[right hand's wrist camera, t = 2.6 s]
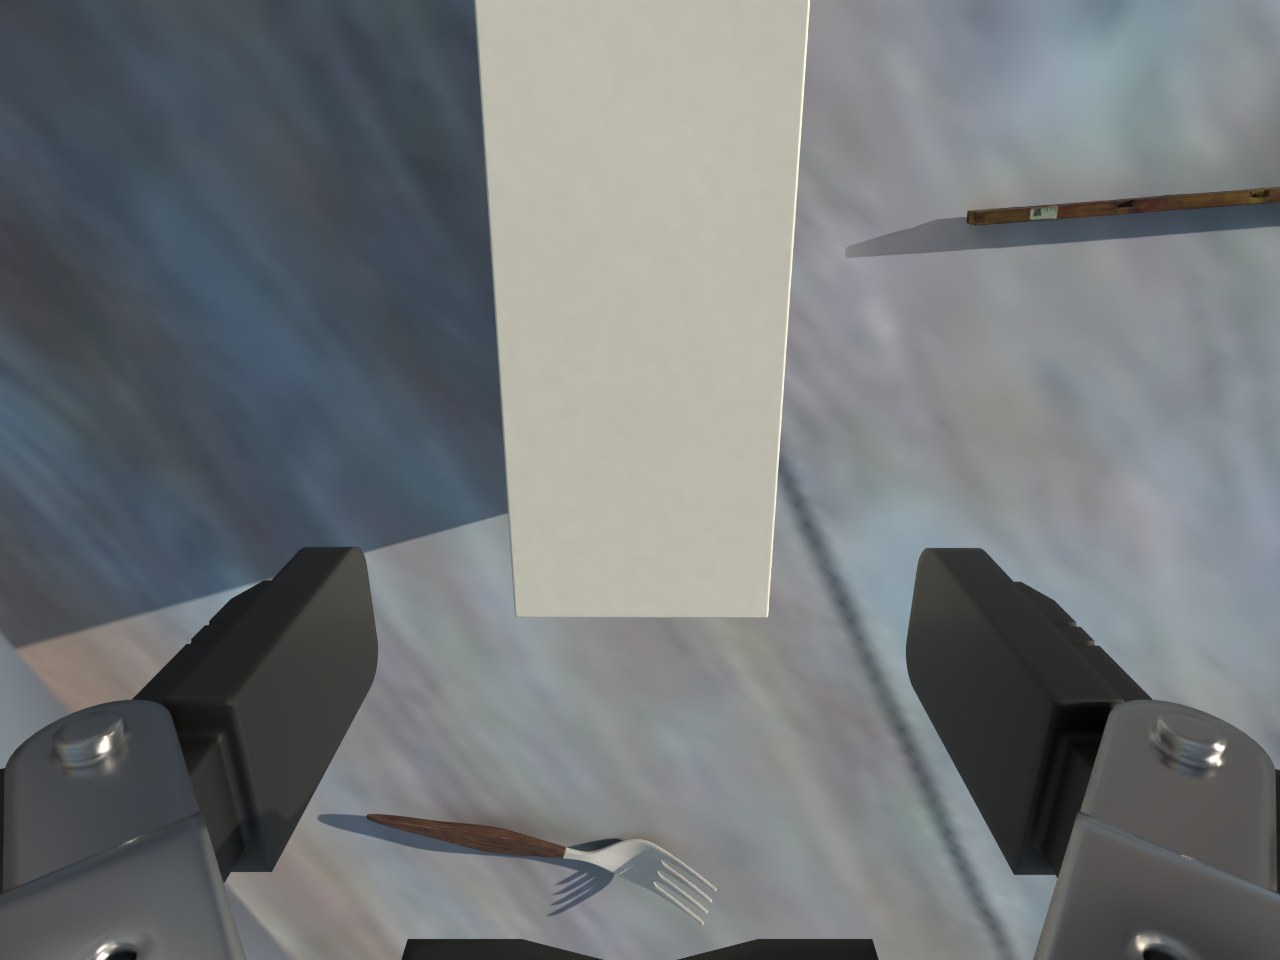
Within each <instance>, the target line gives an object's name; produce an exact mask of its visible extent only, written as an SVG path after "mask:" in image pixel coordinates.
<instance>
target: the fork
mask: <svg viewBox="0 0 1280 960" xmlns="http://www.w3.org/2000/svg"><path fill="white" fill-rule="evenodd" d="M367 819H368V820H371V821H373V822H376V823H379V824H382V825H386V826H389V827H393V828H396V829H400V830H404V831H408V832H412V833H416V834H420V835H424V836H428V837H432V838H436V839H440V840H443V841H447V842H451V843H454V844H458V845H462V846H466V847H470V848H474V849H478V850H483V851H488V852H495V853H503V854H514V855H526V856H540V857H553V858H565V859H575V860H581V861H586V862H590V863H593V864H595V865H598V866H600V867H602V868H604V869H606V870H608V871H610V872H612V873H614V874H616V875H618V876H621V877H623V878H625V879H627V880H629V881H631V882H634V883H636V884H638V885H640V886H643V887H645V888H647V889H649V890H651V891H653V892H654V893H656V894H658V895H660V896H661V897H663V898H664V899H666V900H668V901H669V902H671V903H672V904H674V905H675V906H676V907H678V908H679V909H681V910H682V911H684V912H685V913H687V914H688V915H689V916H691V917H692V918H694V919H695V920H696V921H697V922H699V923H700V924H701V925H703V924H704V922H703V921H702V920H701V919H700V918H699V917H698V916H696V915H695V914H694V913H693V912H691V911H690V910H689V909H688V908H686V907H685V906H684V905H682V904H681V903H680V902H679V901H677V900H676V899H675V898H673V897H672V896H671V895H669V894H668V893H667V892H665V891H664V890H662V889H661V888H660V887H658V886H657V885H656V884H655V883H654V881H657V882H659V883H661V884H663V885H665V886H666V887H668V888H670V889H671V890H673V891H674V892H676V893H677V894H679V895H680V896H682V897H683V898H685V899H686V900H688V901H689V902H691V903H692V904H693V905H695V906H696V907H698V908H699V909H700V910H702V911H703V912H704V913H706V914H707V913H708V911H707V910H706V909H705V908H704V907H703V906H702V905H700V904H699V903H698V902H697V901H695V900H694V899H693V898H692V897H690V896H689V895H688V894H686V893H685V892H684V891H682V890H681V889H680V888H678V887H677V886H676V885H674V884H673V883H672V882H670V881H669V880H668V879H666V878H665V877H663V876H662V875H661V874H660V873H659V872H658V871H657V870H661V871H663V872H665V873H667V874H669V875H670V876H672V877H674V878H675V879H677V880H678V881H680V882H681V883H683V884H684V885H686V886H687V887H689V888H690V889H692V890H693V891H695V892H696V893H698V894H699V895H701V896H702V897H703V898H705V899H706V900H707V901H709V902H712V899H711V898H710V897H708V896H707V895H706V894H705V893H703V892H702V891H701V890H700V889H698V888H697V887H696V886H694V885H693V884H692V883H691V882H689V881H688V880H687V879H685V878H684V877H683V876H681V875H680V874H679V873H677V872H676V871H674V870H673V869H672V868H670V867H669V866H667V865H666V864H665V863H664V862H663V861H662V860H661V859H662V858H663V859H666V860H668V861H670V862H671V863H673V864H675V865H676V866H678V867H680V868H681V869H683V870H684V871H686V872H687V873H689V874H690V875H692V876H693V877H695V878H696V879H698V880H699V881H701V882H702V883H704V884H705V885H707V886H708V887H709V888H711V889H712V890H713V891H716V890H717V889H716V887H714V886H713V885H712V884H711V883H709V882H708V881H707V880H705V879H704V878H703V877H702V876H700V875H699V874H698V873H696V872H695V871H694V870H692V869H691V868H690V867H688V866H687V865H686V864H684V863H683V862H681V861H680V860H679V859H677V858H676V857H674V856H673V855H671V854H670V853H668V852H667V851H665V850H664V849H662V848H660V847H659V846H657V845H655V844H654V843H651V842H649V841H647V840H643V839H627V840H623V841H620V842H617V843H614V844H612V845H609V846H607V847H604V848H601V849H598V850H595V851H578V850H574V849H570V848H567V847H563V846H560V845H557V844H553V843H550V842H547V841H544V840H540V839H537V838H534V837H530V836H527V835H524V834H520V833H517V832H513V831H509V830H505V829H501V828H496V827H491V826H484V825H475V824H464V823H453V822H442V821H433V820H425V819H418V818H411V817H403V816H394V815H381V814H368V815H367Z"/></svg>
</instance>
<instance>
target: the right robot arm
mask: <svg viewBox="0 0 1280 960" xmlns="http://www.w3.org/2000/svg"><path fill="white" fill-rule="evenodd" d="M377 660H378V641H377V634H376V627H375V620H374V613H373V606H372V599H371V592H370V585H369V578H368V571H367V564H366V560H365V556H364V554H363V552H362V550H361V549H360V548H358V547H304V548H302V549H301V550H299V551H298V553H297V554H296V555H295V556H294V557H293V558H292V559H291V560H290V561H289V562H288V563H287V564H286V565H285V567H284V568H283V569H282V570H281V571H280V572H279V573H278V574H277V575H276V576H275V577H274V578H273V579H272V581H262V582H260V583H259V584H257V585H255V586H253V587H252V588H250V589H248V590H246V591H244V592H243V593H241V594H239V595H237V596H236V597H234V598H232V599H230V600H229V601H228V603H227V604H226V605H225V606H224V607H223V608H222V609H221V610H220V611H219V612H218V613H217V614H216V615H215V616H214V617H213V618H212V619H211V620H210V621H209V625H205V626H204V627H203V628H202V629H201V630H200V631H199V632H198V633H197V634H196V635H195V636H194V637H193V638H192V639H191V644H186V645H185V646H184V647H183V648H182V649H181V650H180V651H179V652H178V653H177V654H176V655H175V656H174V657H173V658H172V659H171V660H170V661H169V662H168V664H167V665H166V666H165V667H164V668H163V669H162V670H161V671H160V672H159V673H158V674H157V675H156V676H155V677H154V678H153V679H152V680H151V681H150V682H149V683H148V684H147V685H146V686H145V687H144V688H143V689H142V690H141V691H140V692H139V693H138V694H137V695H136V696H135V697H134V698H133V699H132V700H121V701H113V702H108V703H103V704H99V705H96V706H92V707H88V708H85V709H83V710H80V711H77V712H74V713H72V714H70V715H67V716H65V717H63V718H61V719H59V720H57V721H55V722H53V723H51V724H49V725H47V726H46V727H44V728H42V729H41V730H39V731H38V732H36V733H35V734H33V735H32V736H31V737H30V738H28V739H27V740H26V741H25V742H23V743H22V744H21V745H20V746H19V747H18V748H17V749H16V750H15V752H14V753H13V754H12V756H11V757H10V758H9V760H8V762H7V764H6V768H4V769H0V960H247V959H246V956H245V953H244V949H243V946H242V943H241V939H240V936H239V933H238V929H237V926H236V923H235V919H234V916H233V913H232V909H231V906H230V903H229V900H228V896H227V893H226V890H225V886H224V883H225V881H226V879H227V877H228V876H229V874H230V872H272V871H273V869H274V867H275V865H276V863H277V861H278V859H279V858H280V856H281V854H282V852H283V850H284V848H285V846H286V844H287V843H288V841H289V839H290V837H291V835H292V833H293V831H294V830H295V828H296V826H297V824H298V822H299V820H300V818H301V816H302V815H303V813H304V811H305V809H306V807H307V805H308V803H309V801H310V800H311V798H312V796H313V794H314V792H315V790H316V788H317V786H318V785H319V783H320V781H321V779H322V777H323V775H324V773H325V772H326V770H327V768H328V766H329V764H330V762H331V760H332V758H333V757H334V755H335V753H336V751H337V749H338V747H339V745H340V743H341V742H342V740H343V738H344V736H345V734H346V732H347V730H348V729H349V727H350V725H351V723H352V721H353V719H354V717H355V715H356V714H357V712H358V710H359V708H360V706H361V704H362V702H363V700H364V699H365V697H366V695H367V693H368V691H369V689H370V687H371V685H372V683H373V680H374V677H375V673H376V668H377ZM906 661H907V669H908V674H909V678H910V681H911V684H912V686H913V689H914V690H915V692H916V694H917V696H918V698H919V700H920V702H921V703H922V705H923V707H924V709H925V711H926V713H927V714H928V716H929V718H930V720H931V722H932V724H933V726H934V727H935V729H936V731H937V733H938V735H939V737H940V739H941V740H942V742H943V744H944V746H945V748H946V750H947V751H948V753H949V755H950V757H951V759H952V761H953V763H954V764H955V766H956V768H957V770H958V772H959V774H960V775H961V777H962V779H963V781H964V783H965V785H966V787H967V788H968V790H969V792H970V794H971V796H972V798H973V800H974V801H975V803H976V805H977V807H978V809H979V811H980V812H981V814H982V816H983V818H984V820H985V822H986V824H987V825H988V827H989V829H990V831H991V833H992V835H993V836H994V838H995V840H996V842H997V844H998V846H999V848H1000V849H1001V851H1002V853H1003V855H1004V857H1005V859H1006V860H1007V862H1008V864H1009V866H1010V868H1011V870H1012V872H1013V873H1014V875H1056V876H1057V878H1058V880H1057V883H1056V886H1055V890H1054V893H1053V896H1052V900H1051V903H1050V906H1049V909H1048V913H1047V916H1046V919H1045V923H1044V926H1043V929H1042V933H1041V936H1040V939H1039V943H1038V946H1037V949H1036V953H1035V956H1034V959H1033V960H1280V770H1277V769H1275V768H1274V764H1273V762H1272V760H1271V758H1270V757H1269V756H1268V754H1267V753H1266V752H1265V750H1264V749H1263V748H1262V747H1261V746H1260V745H1259V744H1258V743H1257V742H1256V741H1254V740H1253V739H1252V738H1250V737H1249V736H1248V735H1247V734H1245V733H1244V732H1242V731H1241V730H1239V729H1238V728H1236V727H1234V726H1233V725H1231V724H1229V723H1227V722H1225V721H1223V720H1221V719H1220V718H1217V717H1215V716H1213V715H1210V714H1208V713H1206V712H1203V711H1200V710H1197V709H1195V708H1192V707H1188V706H1184V705H1181V704H1177V703H1172V702H1167V701H1159V700H1153V699H1152V698H1151V697H1150V696H1149V695H1148V694H1147V693H1146V692H1145V691H1144V690H1143V689H1142V688H1141V687H1140V686H1139V685H1138V684H1137V683H1136V682H1135V681H1134V680H1133V679H1132V678H1131V677H1130V676H1129V675H1128V674H1127V673H1126V672H1125V671H1124V670H1123V669H1122V668H1121V667H1120V666H1119V665H1118V664H1117V663H1116V662H1115V661H1114V660H1113V659H1112V658H1111V657H1110V656H1109V655H1108V654H1107V653H1106V652H1105V651H1104V650H1103V649H1102V648H1101V647H1100V646H1095V644H1094V640H1093V639H1092V638H1091V637H1090V636H1089V635H1088V634H1087V633H1086V632H1085V631H1084V630H1083V629H1082V628H1081V627H1076V622H1075V621H1074V620H1073V619H1072V618H1071V617H1070V616H1069V615H1068V614H1067V613H1066V612H1065V611H1064V610H1063V609H1062V608H1061V607H1060V606H1059V605H1058V604H1057V603H1056V602H1055V601H1054V600H1052V599H1051V598H1049V597H1047V596H1045V595H1043V594H1042V593H1040V592H1038V591H1036V590H1035V589H1033V588H1031V587H1029V586H1027V585H1026V584H1024V583H1022V582H1013V581H1012V580H1011V579H1010V577H1009V576H1008V575H1007V574H1006V573H1005V572H1004V571H1003V570H1002V569H1001V568H1000V567H999V566H998V565H997V564H996V563H995V561H994V560H993V559H992V558H991V557H990V556H989V555H988V554H987V553H986V552H985V551H984V550H983V549H981V548H926V549H925V550H924V551H923V552H922V554H921V556H920V558H919V562H918V567H917V573H916V580H915V587H914V594H913V601H912V608H911V614H910V621H909V628H908V635H907V643H906ZM402 960H602V959H598V958H594V957H590V956H586V955H582V954H578V953H574V952H570V951H566V950H563V949H559V948H555V947H551V946H547V945H543V944H539V943H535V942H531V941H527V940H523V939H408V940H407V943H406V947H405V950H404V953H403V956H402ZM678 960H878V957H877V953H876V950H875V947H874V943H873V940H872V939H757V940H753V941H749V942H745V943H741V944H737V945H733V946H729V947H725V948H721V949H717V950H714V951H710V952H706V953H702V954H698V955H694V956H690V957H686V958H682V959H678Z"/></svg>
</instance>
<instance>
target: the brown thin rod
mask: <svg viewBox="0 0 1280 960" xmlns="http://www.w3.org/2000/svg"><path fill="white" fill-rule="evenodd" d="M1274 202H1280V187H1274V188H1260V189H1250V190H1236V191H1223V192H1210V193H1195V194H1178V195H1164V196H1155V197H1143V198H1132V199H1119V200H1109V201H1094V202H1081V203H1068V204H1057V205H1041V206H1029V207H1011V208H1000V209H986V210H972V211H968V213H967V223H968V224H973V225H986V224H1000V223H1013V222H1026V221H1039V220H1051V219H1054V220H1058V219H1065V218H1078V217H1090V216H1103V215H1116V214H1129V213H1143V212H1156V211H1168V210H1182V209H1196V208H1209V207H1221V206H1235V205H1249V204H1261V203H1274Z"/></svg>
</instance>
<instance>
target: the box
mask: <svg viewBox="0 0 1280 960" xmlns="http://www.w3.org/2000/svg"><path fill="white" fill-rule="evenodd" d="M474 6H475V22H476V37H477V52H478V67H479V82H480V97H481V112H482V127H483V142H484V157H485V172H486V187H487V202H488V217H489V232H490V247H491V262H492V277H493V292H494V307H495V322H496V338H497V353H498V368H499V383H500V398H501V413H502V428H503V443H504V458H505V473H506V488H507V503H508V518H509V533H510V548H511V563H512V578H513V593H514V608H515V616H516V617H685V618H766V617H767V616H768V608H769V593H770V578H771V564H772V549H773V535H774V520H775V505H776V491H777V476H778V461H779V447H780V432H781V417H782V403H783V388H784V373H785V359H786V344H787V329H788V315H789V300H790V286H791V271H792V256H793V242H794V227H795V212H796V198H797V183H798V168H799V154H800V139H801V124H802V110H803V95H804V80H805V66H806V51H807V36H808V22H809V7H810V0H474Z"/></svg>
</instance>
